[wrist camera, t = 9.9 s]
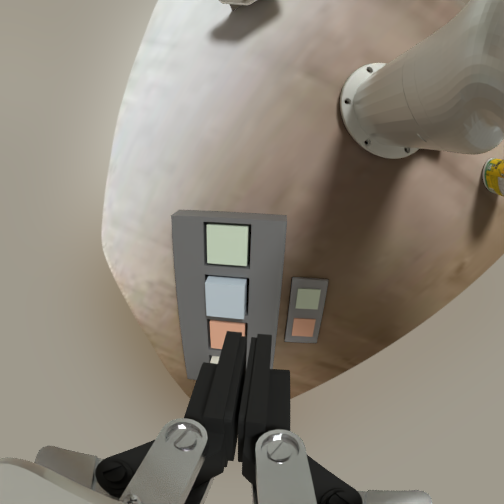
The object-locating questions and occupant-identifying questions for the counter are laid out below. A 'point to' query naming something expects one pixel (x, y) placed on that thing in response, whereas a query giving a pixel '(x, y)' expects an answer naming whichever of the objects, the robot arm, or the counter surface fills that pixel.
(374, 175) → the counter surface
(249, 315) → the keyguard frame
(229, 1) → the platform
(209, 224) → the sage key
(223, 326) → the terracotta key
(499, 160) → the supplement bottle
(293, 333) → the card
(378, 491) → the robot arm
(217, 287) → the blue key
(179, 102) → the counter surface
